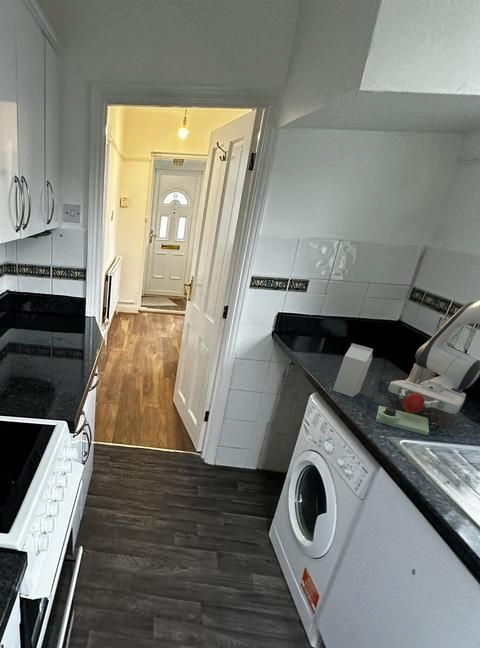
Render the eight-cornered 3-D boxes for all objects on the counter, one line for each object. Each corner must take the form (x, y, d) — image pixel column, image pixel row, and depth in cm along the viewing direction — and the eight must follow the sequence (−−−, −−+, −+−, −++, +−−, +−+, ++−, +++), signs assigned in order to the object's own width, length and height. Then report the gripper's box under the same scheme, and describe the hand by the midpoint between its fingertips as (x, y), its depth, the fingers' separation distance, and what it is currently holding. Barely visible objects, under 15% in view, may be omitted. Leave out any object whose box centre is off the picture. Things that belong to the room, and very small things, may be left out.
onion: (399, 407, 141) (408, 386, 137) (419, 412, 138) (429, 391, 134) (398, 413, 136) (407, 392, 133) (419, 419, 133) (429, 397, 130)
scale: (426, 421, 139) (429, 413, 137) (427, 436, 129) (431, 427, 128) (377, 409, 146) (380, 401, 145) (375, 422, 136) (378, 414, 135)
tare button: (394, 414, 136) (396, 409, 136) (394, 417, 134) (396, 413, 133) (384, 411, 138) (385, 407, 137) (383, 414, 136) (385, 410, 135)
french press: (435, 385, 169) (463, 327, 159) (427, 392, 162) (454, 331, 152) (408, 377, 176) (432, 320, 165) (399, 383, 169) (423, 324, 158)
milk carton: (351, 399, 153) (369, 351, 145) (332, 391, 158) (348, 345, 150) (358, 394, 157) (376, 347, 149) (339, 387, 162) (355, 341, 154)
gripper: (402, 373, 148) (383, 380, 141) (472, 395, 132) (454, 404, 125) (396, 389, 151) (377, 396, 144) (464, 413, 135) (446, 422, 128)
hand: (413, 400), depth 134 cm, fingers closed on onion, 5 cm apart
